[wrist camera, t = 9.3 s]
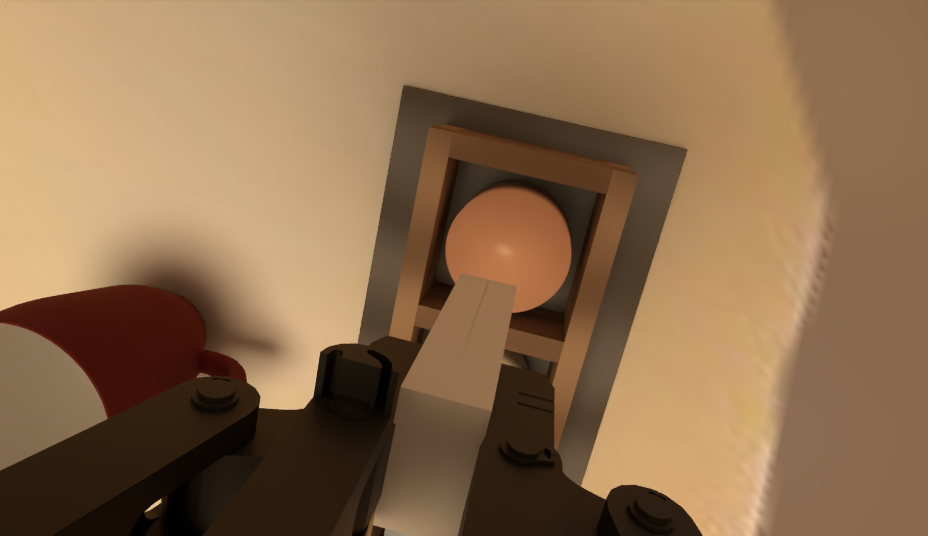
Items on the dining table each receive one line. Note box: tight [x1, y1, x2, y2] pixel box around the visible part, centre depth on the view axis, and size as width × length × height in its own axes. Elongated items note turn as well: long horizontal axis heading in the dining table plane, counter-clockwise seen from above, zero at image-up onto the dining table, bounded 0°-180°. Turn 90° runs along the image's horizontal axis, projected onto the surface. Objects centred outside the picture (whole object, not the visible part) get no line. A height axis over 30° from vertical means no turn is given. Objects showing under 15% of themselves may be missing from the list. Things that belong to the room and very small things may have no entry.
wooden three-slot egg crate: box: [358, 86, 687, 536], centre depth 29 cm, size 26×13×4 cm, turn 168°
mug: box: [0, 285, 247, 470], centre depth 28 cm, size 11×8×10 cm
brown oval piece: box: [445, 181, 571, 313], centre depth 27 cm, size 5×5×3 cm
